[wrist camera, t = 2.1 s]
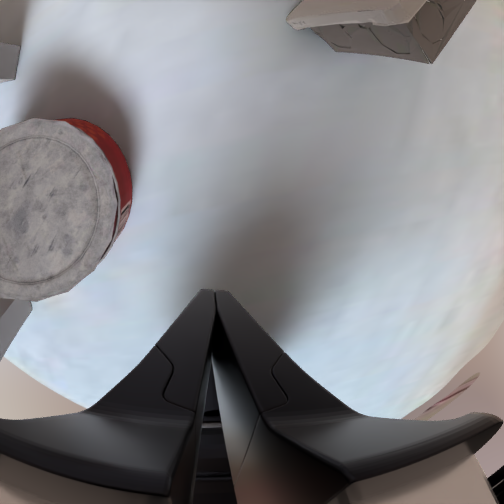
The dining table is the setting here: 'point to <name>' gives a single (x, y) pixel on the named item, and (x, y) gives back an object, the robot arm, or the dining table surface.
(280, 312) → the dining table surface
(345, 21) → the electrical switch
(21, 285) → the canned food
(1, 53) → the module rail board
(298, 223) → the dining table surface
